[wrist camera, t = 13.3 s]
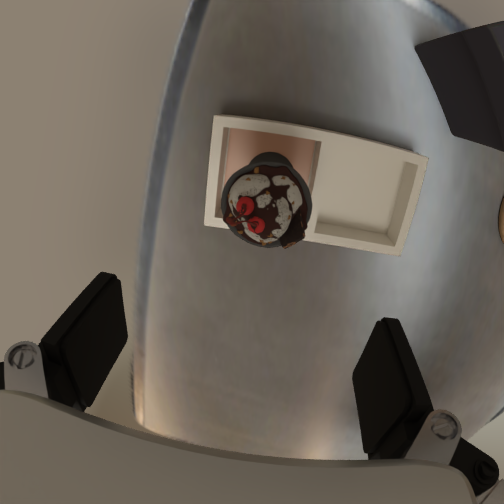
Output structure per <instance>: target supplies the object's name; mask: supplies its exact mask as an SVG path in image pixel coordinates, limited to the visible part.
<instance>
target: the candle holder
mask: <svg viewBox="0 0 504 504" xmlns="http://www.w3.org/2000/svg"><path fill="white" fill-rule="evenodd" d="M499 232H500V237H501V239H502V242H503V243H504V198H503V201H502V204H501V208H500V213H499Z"/></svg>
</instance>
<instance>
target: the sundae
mask: <svg viewBox="0 0 504 504" xmlns="http://www.w3.org/2000/svg"><path fill="white" fill-rule="evenodd" d="M221 210H222V214H223V221H224V222H225V223H226V225H227V226H228V227H229V229H230V230H231V231H232V232H233V233H234V234H235V235H236V236H238V237H239V238H241V239H242V240H244V241H246V242H248V243H250V244H253V245H256V246H259V247H266V248H271V247H278V246H281V245H282V247H283V248H284V249H286V248H288V247H290V246H292V245H294V244H296V243H297V242H298V241H300V240H302V239H304V238H305V230H306V229H307V227H308V225H307V224H308V222H309V220H310V217H311V213H312V198H311V194H310V191H309V188H308V186H307V184H306V182H305V181H304V179H303V178H302V176H301V175H300V174H299V173H298V172H297V171H296V170H295V169H293V166H292V164H291V163H290V161H289V160H288V159H287V158H286V157H285V156H283V155H281V154H279V153H276V152H264V153H261V154H259V155H257V156H256V157H254V158H253V159H252V160H251V162H250V163H249V165H246V166H244V167H243V168H241V169H239V170H238V171H236V172H235V173H234V174H232V175H231V177H230V178H229V179H228V181H227V182H226V184H225V186H224V189H223V192H222V198H221Z"/></svg>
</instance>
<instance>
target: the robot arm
mask: <svg viewBox="0 0 504 504" xmlns="http://www.w3.org/2000/svg"><path fill="white" fill-rule="evenodd" d="M127 338H128V333H127V326H126V319H125V312H124V305H123V297H122V288H121V281H120V280H119V279H117V276H116V275H115V274H110V273H106V272H100V273H99V274H98V275H97V276H96V277H95V278H94V279H93V281H92V282H91V283H90V284H89V285H88V286H87V287H86V288H85V289H84V290H83V291H82V293H81V294H80V295H79V296H78V297H77V298H76V299H75V300H74V301H73V303H72V304H71V305H70V306H69V307H68V308H67V310H66V311H65V312H64V313H63V314H62V315H61V316H60V318H59V319H58V320H57V321H56V322H55V324H54V325H53V326H52V327H51V328H50V330H49V331H48V332H47V333H46V334H45V336H44V337H43V338H42V339H41V342H40V343H39V345H38V346H37V345H36V344H35V343H33V342H29V341H23V342H19V343H16V344H14V345H13V346H11V347H10V348H9V349H8V350H7V352H6V354H5V357H4V362H0V504H504V480H503V479H501V480H500V481H499V479H498V477H499V468H498V465H497V463H496V462H495V460H494V459H493V458H491V457H490V456H489V455H487V454H486V453H484V452H482V451H481V450H479V449H478V448H476V447H475V446H473V445H472V444H470V443H469V442H467V441H466V440H464V439H463V438H461V433H462V428H461V424H460V421H459V420H458V418H457V417H456V416H455V415H454V414H452V413H451V412H449V411H447V410H442V409H438V410H434V409H433V406H432V403H431V400H430V397H429V394H428V391H427V389H426V386H425V383H424V380H423V378H422V375H421V372H420V370H419V367H418V365H417V362H416V360H415V357H414V355H413V352H412V350H411V347H410V345H409V342H408V340H407V337H406V335H405V333H404V330H403V328H402V326H401V323H400V321H399V320H398V319H395V318H385V317H384V318H382V319H381V321H377V322H376V324H375V326H374V329H373V331H372V333H371V335H370V338H369V340H368V342H367V344H366V346H365V348H364V351H363V353H362V355H361V357H360V359H359V361H358V363H357V365H356V367H355V369H354V371H353V376H352V380H353V386H354V392H355V398H356V404H357V410H358V418H359V422H360V429H361V436H362V443H363V450H364V453H368V460H314V459H296V458H283V457H272V456H262V455H254V454H246V453H239V452H232V451H226V450H220V449H215V448H209V447H204V446H199V445H194V444H189V443H185V442H181V441H176V440H172V439H168V438H164V437H160V436H156V435H153V434H149V433H145V432H142V431H139V430H135V429H132V428H128V427H125V426H122V425H119V424H116V423H113V422H110V421H107V420H104V419H101V418H98V417H96V416H93V415H90V414H87V413H85V412H84V411H85V409H86V407H90V406H91V405H92V404H93V402H94V400H95V398H96V396H97V394H98V392H99V391H100V389H101V387H102V385H103V383H104V381H105V380H106V378H107V376H108V374H109V372H110V370H111V369H112V367H113V365H114V363H115V362H116V360H117V358H118V356H119V354H120V353H121V351H122V349H123V347H124V346H125V344H126V342H127Z"/></svg>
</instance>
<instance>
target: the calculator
mask: <svg viewBox="0 0 504 504" xmlns="http://www.w3.org/2000/svg"><path fill="white" fill-rule="evenodd" d="M415 50H416V52H417V54H418V56H419V58H420V60H421V62H422V64H423V66H424V68H425V70H426V72H427V74H428V76H429V78H430V81H431V83H432V85H433V87H434V90H435V92H436V94H437V96H438V99H439V101H440V104H441V106H442V109H443V111H444V114H445V116H446V119H447V122H448V124H449V127H450V130H451V132H452V134H453V135H454V136H456V137H460V138H463V139H467V140H470V141H473V142H476V143H480V144H483V145H486V146H489V147H492V148H494V149H497V150H500V151H503V152H504V21H501V22H496V23H492V24H488V25H483V26H480V27H475V28H472V29H468V30H464V31H461V32H457V33H454V34H450V35H447V36H444V37H441V38H437V39H434V40H431V41H428V42H425V43H422V44H419V45H417V46H415Z"/></svg>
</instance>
